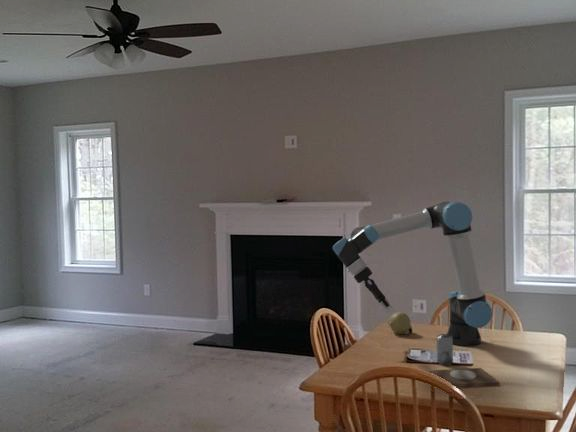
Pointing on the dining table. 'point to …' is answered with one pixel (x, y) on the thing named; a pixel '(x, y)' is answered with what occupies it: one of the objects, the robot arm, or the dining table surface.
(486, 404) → the dining table surface
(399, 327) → the olive green rounded lump
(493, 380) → the brown flat slab
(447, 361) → the grey metallic can
